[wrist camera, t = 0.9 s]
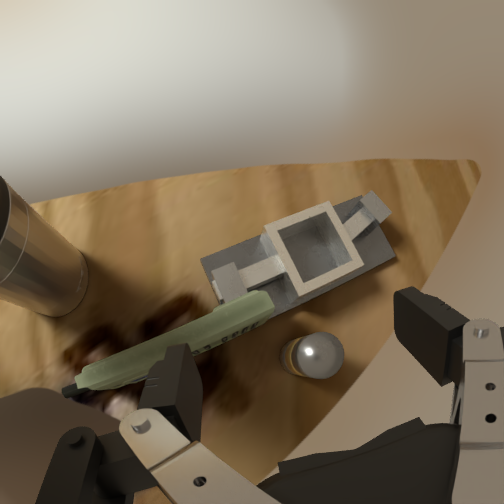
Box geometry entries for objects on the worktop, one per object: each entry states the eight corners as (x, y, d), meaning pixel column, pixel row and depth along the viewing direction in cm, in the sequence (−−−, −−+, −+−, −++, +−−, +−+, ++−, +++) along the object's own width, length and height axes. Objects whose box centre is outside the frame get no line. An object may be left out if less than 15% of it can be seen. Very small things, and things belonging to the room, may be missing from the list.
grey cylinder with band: (281, 376, 33) (300, 381, 25) (277, 341, 35) (296, 334, 26) (316, 372, 34) (346, 375, 25) (313, 337, 35) (341, 329, 27)
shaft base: (233, 335, 34) (234, 331, 30) (200, 261, 37) (197, 246, 32) (392, 257, 39) (412, 244, 34) (359, 198, 41) (374, 179, 37)
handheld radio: (269, 325, 36) (74, 407, 30) (256, 299, 36) (64, 380, 31) (279, 314, 29) (46, 411, 24) (263, 283, 30) (35, 380, 25)
